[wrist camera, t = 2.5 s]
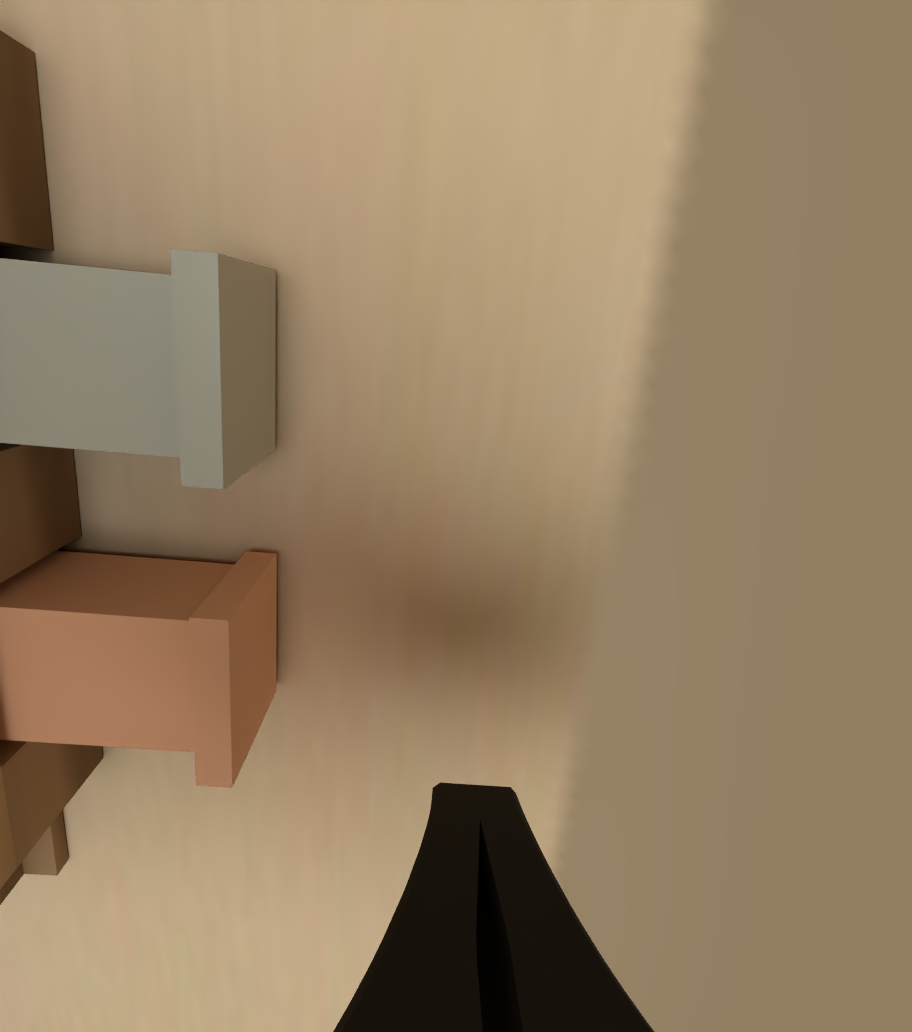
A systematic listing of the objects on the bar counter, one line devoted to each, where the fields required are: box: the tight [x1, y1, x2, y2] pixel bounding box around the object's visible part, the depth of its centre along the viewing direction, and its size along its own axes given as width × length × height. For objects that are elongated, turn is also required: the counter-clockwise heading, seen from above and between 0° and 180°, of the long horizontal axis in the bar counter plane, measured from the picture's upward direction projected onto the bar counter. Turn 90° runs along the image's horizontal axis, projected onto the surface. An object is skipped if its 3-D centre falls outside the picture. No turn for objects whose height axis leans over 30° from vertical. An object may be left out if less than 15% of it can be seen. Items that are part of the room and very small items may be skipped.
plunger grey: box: [0, 249, 276, 489], centre depth 13 cm, size 7×4×4 cm, turn 85°
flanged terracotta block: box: [0, 551, 277, 787], centre depth 15 cm, size 7×4×4 cm, turn 85°
